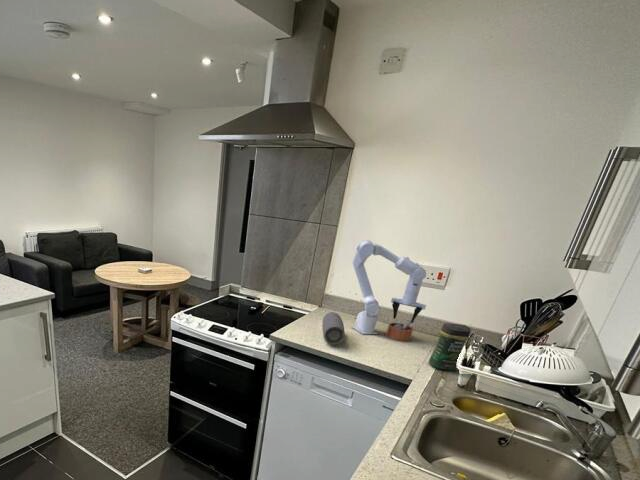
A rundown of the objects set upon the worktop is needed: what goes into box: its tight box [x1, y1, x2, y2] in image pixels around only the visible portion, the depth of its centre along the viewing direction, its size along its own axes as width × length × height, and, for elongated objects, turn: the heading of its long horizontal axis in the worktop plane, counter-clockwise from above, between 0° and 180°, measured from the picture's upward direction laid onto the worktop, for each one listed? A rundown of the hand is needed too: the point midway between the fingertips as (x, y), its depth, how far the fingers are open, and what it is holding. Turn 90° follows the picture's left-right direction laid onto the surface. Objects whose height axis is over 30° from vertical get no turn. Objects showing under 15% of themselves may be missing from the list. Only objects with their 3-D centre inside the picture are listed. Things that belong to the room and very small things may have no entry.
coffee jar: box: [428, 322, 472, 372], centre depth 156 cm, size 10×8×19 cm
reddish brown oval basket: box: [385, 322, 415, 342], centre depth 190 cm, size 14×11×6 cm
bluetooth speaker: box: [321, 311, 346, 345], centre depth 179 cm, size 23×9×10 cm, turn 164°
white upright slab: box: [394, 320, 412, 330], centre depth 188 cm, size 7×2×8 cm, turn 33°
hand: (403, 320), depth 186 cm, fingers open, 7 cm apart
